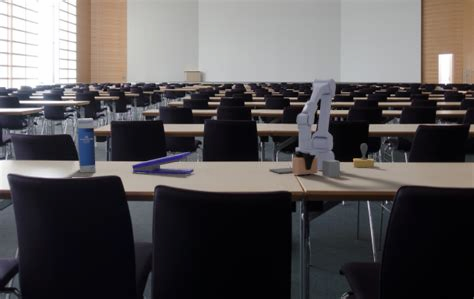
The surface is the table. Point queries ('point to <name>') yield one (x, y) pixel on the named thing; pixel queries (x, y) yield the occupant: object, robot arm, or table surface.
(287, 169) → the charcoal mat
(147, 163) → the stapler
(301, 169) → the salmon rectangular prism
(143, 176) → the table surface
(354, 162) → the rubber stamp
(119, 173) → the table surface
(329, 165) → the grey rectangular block
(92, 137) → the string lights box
